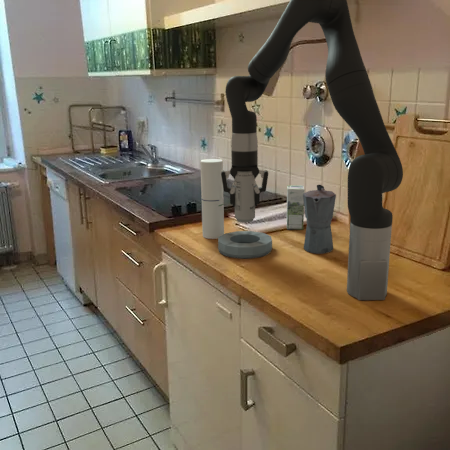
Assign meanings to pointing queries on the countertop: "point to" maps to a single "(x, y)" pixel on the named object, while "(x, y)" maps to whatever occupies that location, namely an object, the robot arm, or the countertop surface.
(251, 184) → the energy drink can
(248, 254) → the blue-grey ring
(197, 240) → the countertop surface
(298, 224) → the syrup box
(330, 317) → the countertop surface
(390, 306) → the countertop surface
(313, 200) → the moka pot
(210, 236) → the cylindrical container
